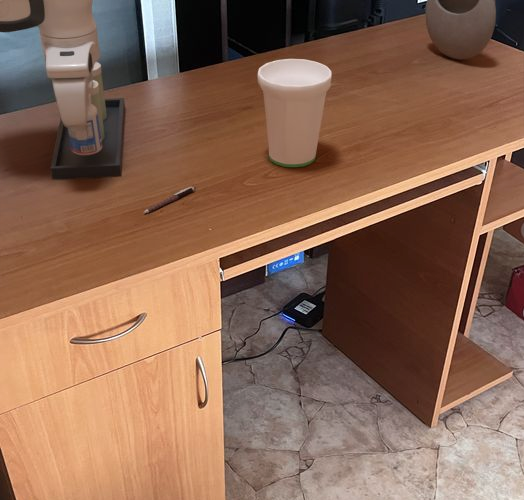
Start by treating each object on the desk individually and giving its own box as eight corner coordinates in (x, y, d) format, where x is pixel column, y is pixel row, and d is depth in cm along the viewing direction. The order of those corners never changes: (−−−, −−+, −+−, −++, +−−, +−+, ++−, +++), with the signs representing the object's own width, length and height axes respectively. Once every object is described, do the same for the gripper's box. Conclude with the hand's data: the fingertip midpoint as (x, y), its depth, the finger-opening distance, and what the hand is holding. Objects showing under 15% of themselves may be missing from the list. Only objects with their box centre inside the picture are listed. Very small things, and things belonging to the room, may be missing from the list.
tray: (52, 179, 134) (50, 168, 132) (66, 110, 155) (64, 100, 154) (121, 176, 135) (119, 165, 133) (125, 108, 156) (124, 97, 155)
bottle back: (79, 123, 149) (71, 71, 143) (81, 112, 153) (73, 61, 147) (106, 122, 150) (100, 70, 143) (107, 111, 154) (101, 60, 147)
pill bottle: (83, 140, 139) (75, 86, 133) (108, 146, 137) (101, 91, 131) (64, 152, 135) (55, 97, 129) (90, 158, 134) (82, 103, 127)
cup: (254, 142, 145) (254, 59, 135) (321, 140, 146) (325, 57, 136) (260, 174, 135) (261, 87, 125) (332, 171, 136) (338, 85, 126)
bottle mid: (75, 144, 142) (67, 91, 136) (77, 132, 146) (69, 79, 140) (104, 143, 143) (97, 89, 136) (106, 131, 147) (99, 78, 140)
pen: (194, 189, 131) (193, 183, 131) (197, 190, 131) (196, 185, 130) (141, 214, 125) (141, 208, 124) (144, 215, 125) (144, 210, 124)
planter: (411, 50, 182) (422, -38, 170) (431, 43, 185) (444, -43, 173) (474, 73, 171) (491, -19, 159) (495, 65, 175) (513, -25, 162)
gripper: (56, 26, 133) (69, 105, 142) (44, 72, 117) (59, 157, 126) (94, 25, 133) (104, 104, 142) (87, 70, 118) (99, 155, 127)
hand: (83, 129), depth 134 cm, fingers closed on pill bottle, 5 cm apart
